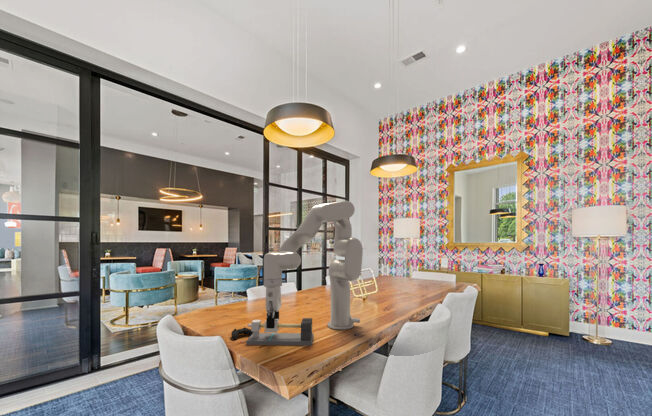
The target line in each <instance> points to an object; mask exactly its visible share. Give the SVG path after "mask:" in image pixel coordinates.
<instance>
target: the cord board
mask: <svg viewBox="0 0 652 416" xmlns="http://www.w3.org/2000/svg"><path fill="white" fill-rule="evenodd" d="M248 327H249V328H250V327H251V328H250V329H251V331H253V334H252V335H251V336H249V337H248V338H247V339H246V341H245V345H246V346H313V343H314V333H313V318H312V317H306V318H305V317H302V320H301V322H300V323H279V324H277V327H279V328H296V329H297V328H300V332H297V333H296V332H293V333H292V332H277V333H276V332H260V331H261V328H265V323H262V320H261V319H253V320H251V323H247V328H248Z"/></svg>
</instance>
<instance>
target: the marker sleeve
mask: <svg viewBox="0 0 652 416" xmlns="http://www.w3.org/2000/svg"><path fill="white" fill-rule="evenodd" d="M264 324H265V327H264V333H278V331H279V328H280V327H277V324H280V318H279V319H275V327H274V328H266V320H265V321H264Z"/></svg>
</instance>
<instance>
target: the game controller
mask: <svg viewBox="0 0 652 416" xmlns="http://www.w3.org/2000/svg"><path fill="white" fill-rule="evenodd" d="M252 334H253V331H251V328H248V327H245V326H244V327H243V328H239V329H237V328H234V329H233V330H232V331H231V339H232V340H233V341H237V339H238V337H239V335H248V336H249V337H250V336H251V335H252Z"/></svg>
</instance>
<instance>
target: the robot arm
mask: <svg viewBox="0 0 652 416" xmlns="http://www.w3.org/2000/svg"><path fill="white" fill-rule="evenodd" d="M355 212H356V211H355V206H354V204H353V202H351V201H349V200H342V201H336V202H330V203H321V204H316V205H313V206H311V208H310V210H309V211H308V213H307V214H306V216H305V217H304V219H303V220H302V222H301V223H300V225H299V227H298V228H297V229H296V230H295V231H294V232H293V233H292V234H291V235H290V236H288V238H286V240H285V241H284V242H283V244H281V246H280V248H279V249H278V251H277V252H267V253H265V254H264V257H263V287H264V288H265V312H266V317H265V319H266V320H265V321H266V328H274V327H275V319H279V320H280V309H281V308H282V292H281V291H282V289H281V287H282V286H283V270H296V269H297V268H299V266H300V265H301V263H302V257H301V256H300V254H299V253H297V250H299V249H300V248H301V247H302V246H303V245H306V244H308V243H310V242H311V241H313V240H314V238H315V237H316V235H317V234H318V232H319V230H320V229H321V227H322V225H323V224H324V223H331V222H333V225H334V237H333V238H334V239H333V253H334V255H336V256H337V257H341V258H345V259H338V258H337V259H334V260H333V261H331V262H330V263H329V266H328V276H329V282H330V320H329V321H328V322H327V327H328V328H330V329H331V330H332V329H333V330H340V331H341V330H349V329H352V328H353V327H354V324H355V323H356V324H358V323H361V319H360V318H357V317H352V315H351V287H350V283H349V282H355V281H357V280H359V278H360V276H361V274H362V265H363V264H362V263H363V254H364V253H363V244H362V242H361V240H359V239H358V238H356V237H352V236H353V235H352V233H353V228H352V224H351V221H350V218H352V217H353V216H354V214H355Z"/></svg>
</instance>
